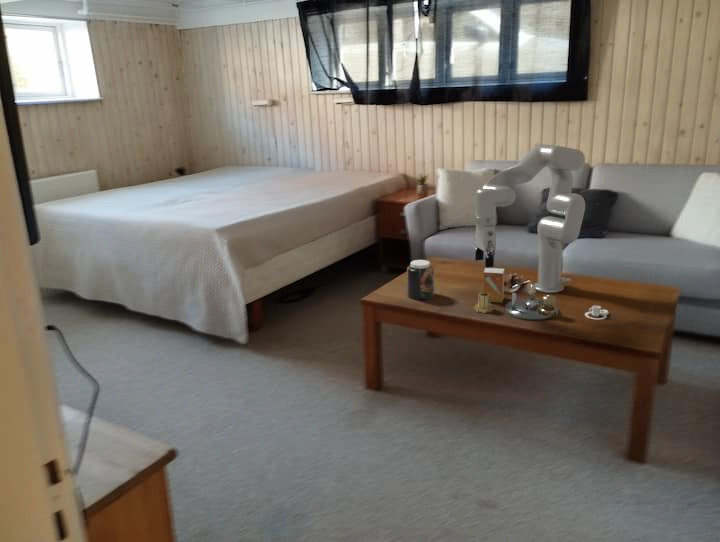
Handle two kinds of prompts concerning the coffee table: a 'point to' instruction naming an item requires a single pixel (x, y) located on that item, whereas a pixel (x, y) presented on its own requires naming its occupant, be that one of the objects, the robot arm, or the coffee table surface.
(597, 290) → the coffee table surface
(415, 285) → the jar
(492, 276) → the small box
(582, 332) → the coffee table surface
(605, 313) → the teacup and saucer
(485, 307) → the gear
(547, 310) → the carrier
